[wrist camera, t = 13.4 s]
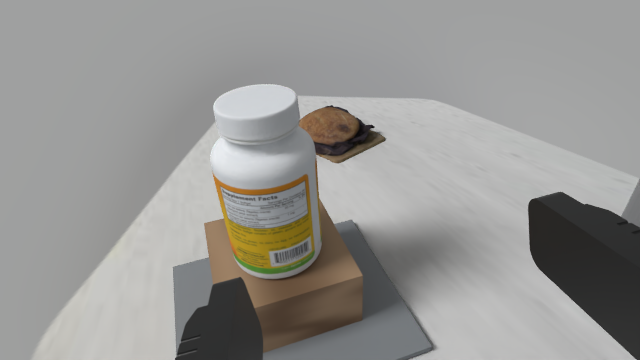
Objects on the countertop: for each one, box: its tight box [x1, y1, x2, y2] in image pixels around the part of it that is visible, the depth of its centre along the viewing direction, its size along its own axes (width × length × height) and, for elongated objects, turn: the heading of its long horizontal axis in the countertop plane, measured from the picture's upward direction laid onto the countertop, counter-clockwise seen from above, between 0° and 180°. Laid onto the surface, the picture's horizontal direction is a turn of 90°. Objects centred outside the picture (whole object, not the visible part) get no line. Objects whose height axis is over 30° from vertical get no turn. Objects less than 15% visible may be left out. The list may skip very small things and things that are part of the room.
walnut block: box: [204, 199, 363, 353], centre depth 26 cm, size 8×8×4 cm
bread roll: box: [299, 105, 385, 163], centre depth 45 cm, size 11×8×4 cm
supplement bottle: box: [210, 84, 322, 279], centre depth 22 cm, size 5×5×10 cm
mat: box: [173, 220, 432, 360], centre depth 26 cm, size 14×12×1 cm
